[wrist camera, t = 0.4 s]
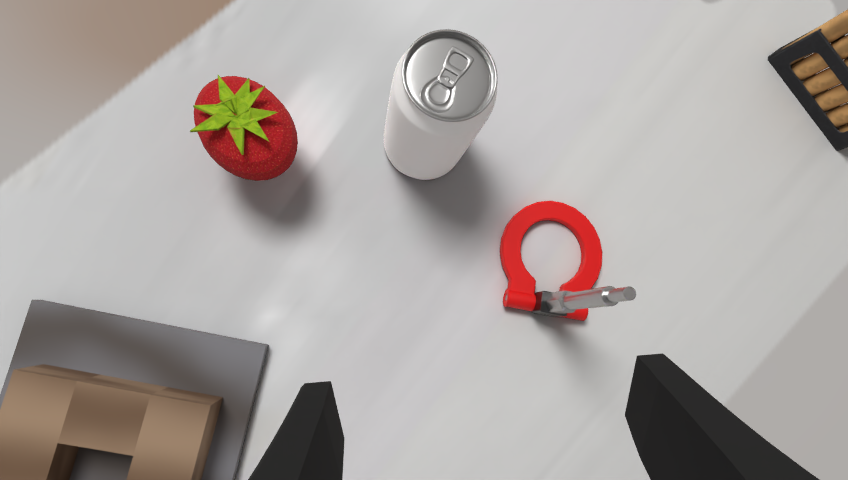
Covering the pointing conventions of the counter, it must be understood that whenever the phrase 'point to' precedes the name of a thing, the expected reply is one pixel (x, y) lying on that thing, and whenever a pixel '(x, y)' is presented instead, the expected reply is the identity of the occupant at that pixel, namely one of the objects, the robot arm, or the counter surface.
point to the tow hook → (571, 294)
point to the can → (438, 102)
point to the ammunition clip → (820, 76)
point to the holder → (124, 399)
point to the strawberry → (245, 128)
